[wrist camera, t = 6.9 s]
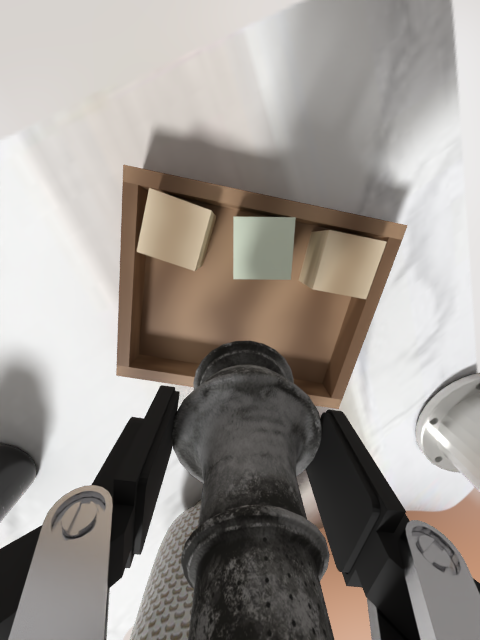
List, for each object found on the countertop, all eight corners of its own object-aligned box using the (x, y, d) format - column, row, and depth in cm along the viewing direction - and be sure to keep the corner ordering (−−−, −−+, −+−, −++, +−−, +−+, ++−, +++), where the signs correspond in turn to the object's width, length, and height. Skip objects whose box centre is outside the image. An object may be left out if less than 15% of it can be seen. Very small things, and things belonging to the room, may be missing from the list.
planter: (219, 562, 34) (210, 749, 21) (141, 513, 30) (76, 700, 18) (296, 513, 31) (337, 696, 18) (219, 453, 27) (207, 626, 15)
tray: (383, 227, 20) (407, 225, 17) (326, 389, 25) (338, 408, 22) (140, 176, 19) (123, 164, 16) (130, 359, 24) (116, 375, 21)
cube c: (216, 216, 19) (211, 210, 15) (202, 265, 20) (194, 271, 16) (166, 198, 19) (149, 187, 15) (155, 249, 20) (136, 251, 16)
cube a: (357, 241, 20) (386, 241, 16) (342, 288, 21) (366, 299, 17) (311, 231, 20) (329, 229, 16) (298, 280, 21) (312, 289, 17)
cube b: (283, 221, 19) (295, 217, 16) (280, 272, 21) (290, 279, 17) (233, 221, 19) (233, 216, 15) (233, 271, 20) (233, 279, 17)
